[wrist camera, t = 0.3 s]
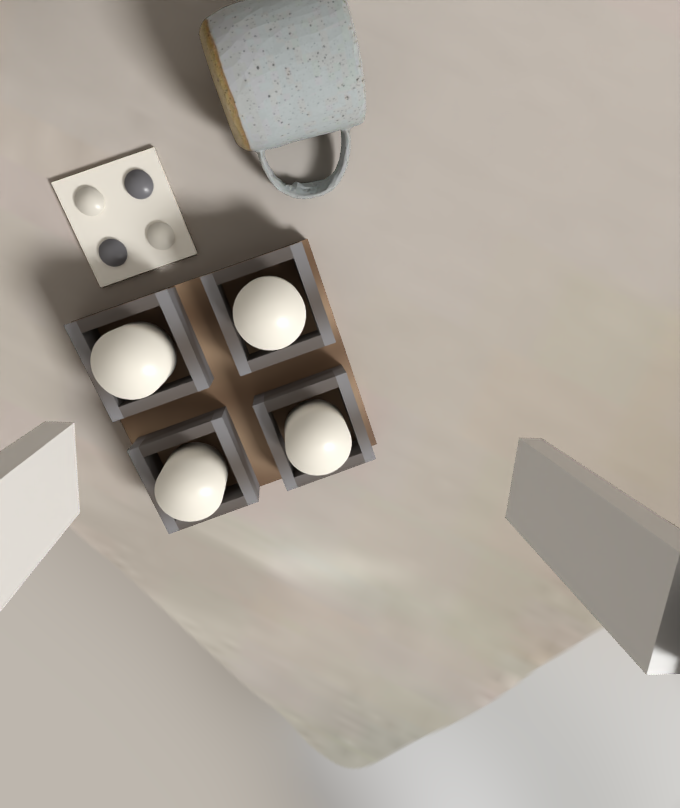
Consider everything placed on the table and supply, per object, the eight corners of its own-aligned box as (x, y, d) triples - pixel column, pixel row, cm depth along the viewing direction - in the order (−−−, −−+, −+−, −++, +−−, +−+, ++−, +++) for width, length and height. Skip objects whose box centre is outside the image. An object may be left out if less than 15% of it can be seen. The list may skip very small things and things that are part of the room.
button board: (77, 320, 36) (53, 327, 32) (306, 239, 36) (309, 236, 32) (172, 511, 40) (161, 538, 36) (373, 438, 41) (384, 457, 37)
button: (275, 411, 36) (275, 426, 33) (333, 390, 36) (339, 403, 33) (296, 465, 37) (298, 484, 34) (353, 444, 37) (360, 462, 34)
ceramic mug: (201, 47, 32) (179, -13, 25) (323, 6, 32) (337, -66, 25) (261, 217, 35) (258, 208, 28) (372, 179, 36) (397, 160, 28)
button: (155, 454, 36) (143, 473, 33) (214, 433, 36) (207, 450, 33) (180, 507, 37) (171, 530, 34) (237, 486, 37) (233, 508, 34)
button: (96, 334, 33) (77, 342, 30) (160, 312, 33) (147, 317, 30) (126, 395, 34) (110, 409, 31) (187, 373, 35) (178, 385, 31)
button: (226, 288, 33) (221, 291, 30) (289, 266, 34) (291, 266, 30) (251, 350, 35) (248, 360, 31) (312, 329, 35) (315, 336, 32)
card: (53, 183, 33) (49, 182, 33) (154, 148, 33) (153, 146, 33) (101, 287, 35) (99, 287, 35) (197, 253, 35) (196, 253, 35)
